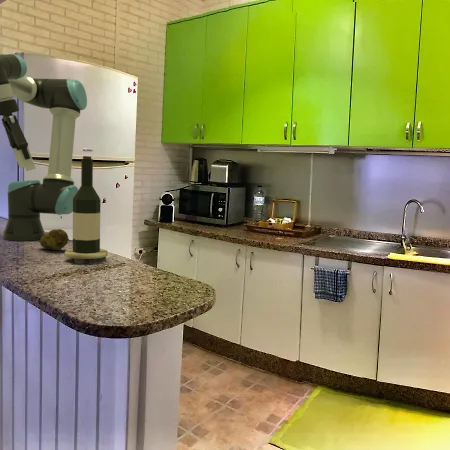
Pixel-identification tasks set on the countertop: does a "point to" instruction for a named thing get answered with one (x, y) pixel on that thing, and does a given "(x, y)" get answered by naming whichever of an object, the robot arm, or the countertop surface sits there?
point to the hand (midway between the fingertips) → (27, 168)
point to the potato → (54, 239)
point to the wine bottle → (86, 212)
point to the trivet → (86, 256)
